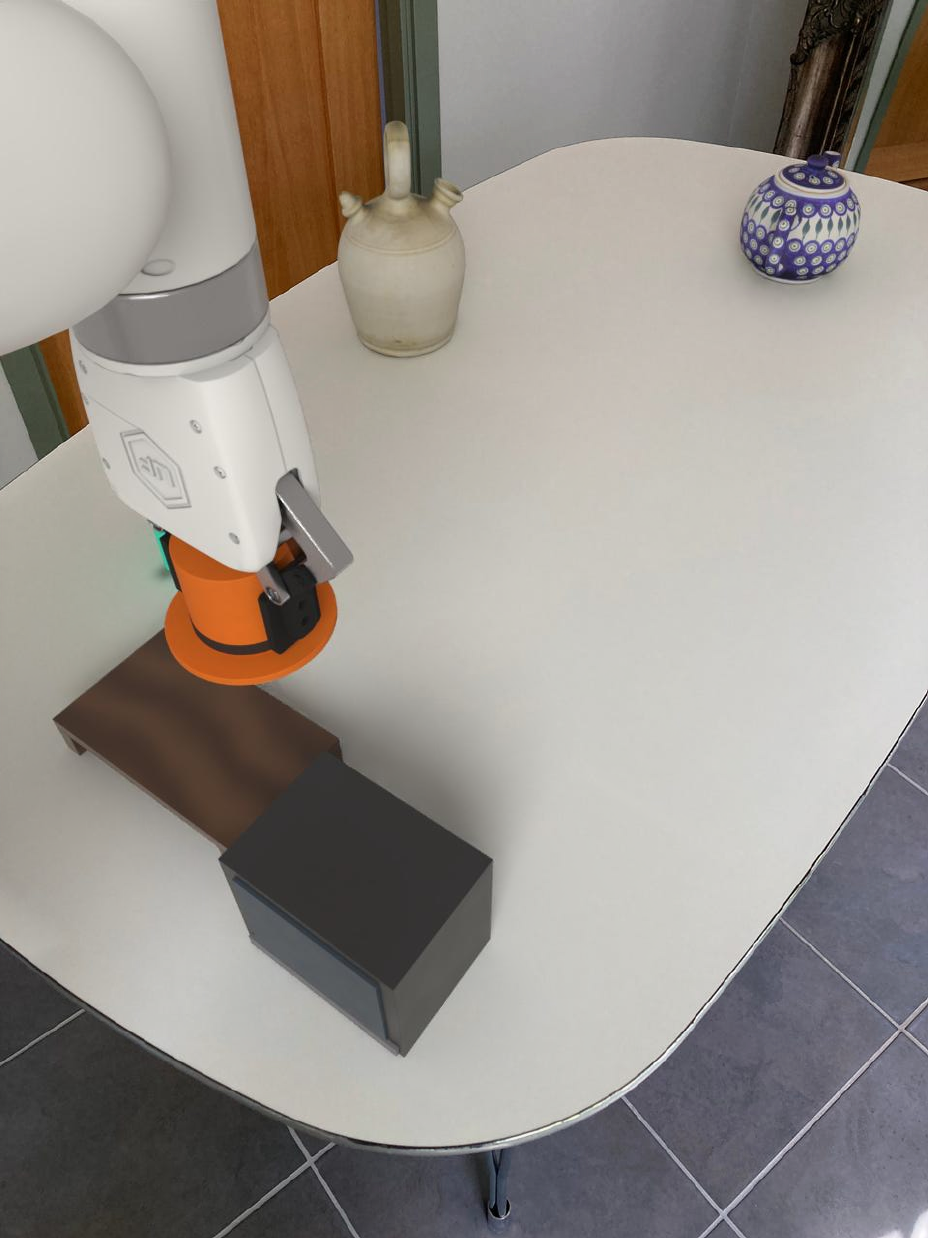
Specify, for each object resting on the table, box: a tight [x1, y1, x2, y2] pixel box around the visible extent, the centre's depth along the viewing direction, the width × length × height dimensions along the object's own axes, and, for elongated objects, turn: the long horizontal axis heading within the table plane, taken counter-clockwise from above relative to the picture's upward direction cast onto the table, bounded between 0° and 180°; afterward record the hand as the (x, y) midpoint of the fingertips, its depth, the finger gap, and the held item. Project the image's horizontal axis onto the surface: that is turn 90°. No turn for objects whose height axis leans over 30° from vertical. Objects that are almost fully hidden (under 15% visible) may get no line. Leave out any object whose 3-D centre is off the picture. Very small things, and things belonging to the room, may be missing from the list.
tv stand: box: [52, 626, 345, 856], centre depth 77 cm, size 12×20×4 cm, turn 54°
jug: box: [337, 120, 467, 358], centre depth 112 cm, size 15×16×25 cm
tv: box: [217, 750, 494, 1058], centre depth 64 cm, size 10×14×12 cm
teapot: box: [739, 150, 862, 285], centre depth 126 cm, size 25×15×15 cm, turn 148°
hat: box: [164, 534, 338, 686], centre depth 49 cm, size 9×9×6 cm
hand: (248, 603), depth 50 cm, fingers closed on hat, 6 cm apart
